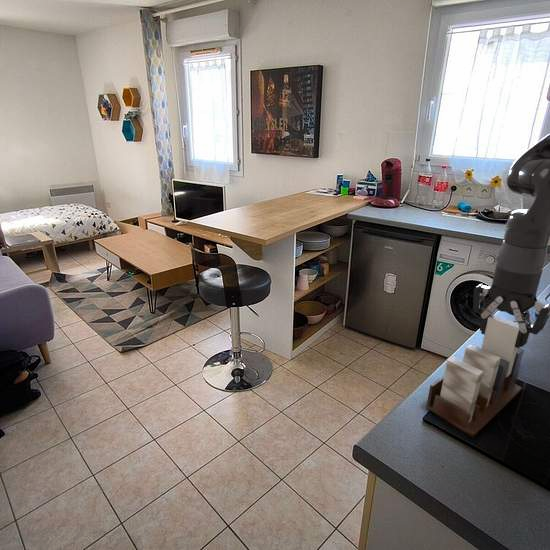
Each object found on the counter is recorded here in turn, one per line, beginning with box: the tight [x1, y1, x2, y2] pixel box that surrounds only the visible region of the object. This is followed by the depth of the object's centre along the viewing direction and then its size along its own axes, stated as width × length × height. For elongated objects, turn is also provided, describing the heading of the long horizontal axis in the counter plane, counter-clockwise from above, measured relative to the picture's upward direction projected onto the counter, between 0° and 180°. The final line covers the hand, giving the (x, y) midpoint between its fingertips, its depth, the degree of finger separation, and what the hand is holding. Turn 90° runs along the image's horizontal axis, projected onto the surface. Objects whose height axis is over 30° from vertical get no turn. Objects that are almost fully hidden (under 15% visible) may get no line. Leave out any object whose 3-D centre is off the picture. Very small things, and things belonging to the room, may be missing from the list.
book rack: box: [425, 344, 525, 438], centre depth 76 cm, size 10×22×13 cm, turn 127°
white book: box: [480, 314, 520, 377], centre depth 77 cm, size 6×2×12 cm, turn 37°
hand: (500, 339), depth 76 cm, fingers closed on white book, 6 cm apart
